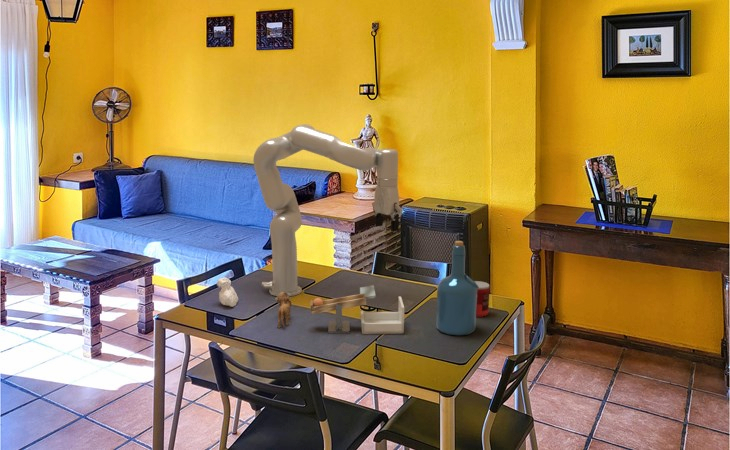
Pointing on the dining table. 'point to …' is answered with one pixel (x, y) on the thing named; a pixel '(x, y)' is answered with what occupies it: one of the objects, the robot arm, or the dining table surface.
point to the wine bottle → (457, 298)
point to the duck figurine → (227, 292)
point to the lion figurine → (283, 308)
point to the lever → (345, 301)
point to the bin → (383, 321)
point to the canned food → (482, 299)
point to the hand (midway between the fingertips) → (386, 228)
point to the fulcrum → (338, 322)
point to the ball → (317, 302)
